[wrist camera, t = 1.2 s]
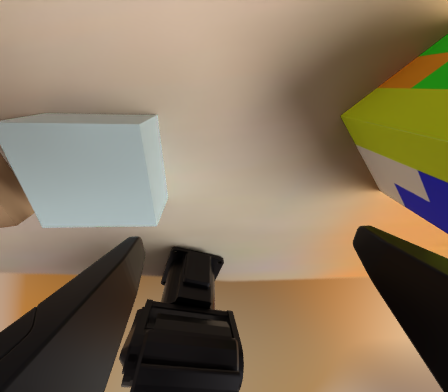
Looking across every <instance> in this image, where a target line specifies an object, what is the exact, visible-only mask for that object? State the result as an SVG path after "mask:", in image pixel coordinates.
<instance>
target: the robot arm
mask: <svg viewBox="0 0 448 392" xmlns="http://www.w3.org/2000/svg"><path fill="white" fill-rule="evenodd" d="M353 246H354V249H355V250H356V252H357V254H358V256H359V258H360V260H361V262H362V264H363V266H364V268H365V270H366V271H367V273H368V275H369V277H370V279H371V280H372V282H373V284H374V285H375V287H376V289H377V290H378V292H379V293H380V295H381V296H382V298H383V299H384V301H385V302H386V304H387V305H388V307H389V308H390V310H391V312H392V313H393V315H394V316H395V317H396V319H397V321H398V322H399V324H400V325H401V327H402V328H403V330H404V331H405V333H406V335H407V336H408V338H409V339H410V341H411V342H412V344H413V345H414V347H415V348H416V350H417V352H418V353H419V355H420V356H421V358H422V359H423V361H424V362H425V364H426V365H427V367H428V368H429V370H430V372H431V373H432V374H433V376H434V377H435V379H436V381H437V382H438V384H439V385H440V387H441V388H442V390H443V391H444V392H448V259H447V258H445V257H443V256H440V255H438V254H436V253H433V252H431V251H429V250H426V249H424V248H422V247H419V246H417V245H415V244H412V243H410V242H407V241H405V240H403V239H400V238H398V237H396V236H393V235H391V234H389V233H386V232H384V231H382V230H379V229H377V228H375V227H372V226H360V227H359V228H358V229H357V232H356V234H355V237H354V240H353ZM175 251H177V252H175ZM144 259H145V250H144V247H143V243H142V239H141V238H140V237H129V238H127V239H126V240H125V241H123V242H122V243H121V244H119V245H118V246H117V247H115V248H114V249H113V250H111V251H110V252H108V253H107V254H106V255H104V256H103V257H102V258H100V259H99V260H98V261H96V262H95V263H94V264H92V265H91V266H90V267H88V268H87V269H86V270H84V271H83V272H82V273H80V274H79V275H77V276H76V277H75V278H74V279H72V280H71V281H69V282H68V283H67V284H65V285H64V286H63V287H61V288H60V289H59V290H57V291H56V292H55V293H53V294H52V295H51V296H49V297H48V298H46V299H45V300H44V301H43V302H41V303H40V304H39V305H38V306H37V307H34V308H33V309H32V310H30V311H29V312H27V313H26V314H25V315H23V316H22V317H21V318H20V319H18V320H17V321H15V322H14V323H12V324H11V325H10V326H8V327H7V328H5V329H4V330H3V331H2V332H0V392H104V391H105V388H106V384H107V382H108V379H109V376H110V372H111V370H112V367H113V364H114V361H115V358H116V355H117V352H118V349H119V346H120V343H121V340H122V337H123V334H124V331H125V328H126V325H127V322H128V319H129V316H130V313H131V310H132V307H133V304H134V301H135V298H136V295H137V291H138V287H139V282H140V278H141V273H142V269H143V264H144ZM223 263H224V260H223V258H222V257H218V256H213V255H209V254H205V253H200V252H196V251H192V250H187V249H183V248H179V247H173V248H172V249H171V252H170V255H169V259H168V262H167V265H166V268H165V271H164V274H163V277H162V281H161V284H162V285H165V288H164V292H163V296H162V300H161V302H156V301H153V300H149V299H147V302H146V304H145V307H142V309H139V310H137V313H136V316H135V319H134V322H133V325H132V328H131V330H130V332H129V335H128V337H127V339H126V341H125V344H124V346H123V348H122V350H121V354H120V357H119V360H120V362H121V364H122V366H123V371H122V374H124V376H123V380H122V384H121V386H122V387H131V390H130V392H239V390H240V387H241V384H242V379H243V367H244V362H243V350H242V345H241V341H240V337H239V334H238V330H237V326H236V322H235V319H234V315H233V312H232V311H221V310H215V289H214V287H215V285H214V281H215V279H216V277H217V275H218V273H219V271H220V269H221V267H222V265H223Z"/></svg>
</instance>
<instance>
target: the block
mask: <svg viewBox="0 0 448 392" xmlns="http://www.w3.org/2000/svg"><path fill="white" fill-rule="evenodd" d="M0 145H1V147H2V149H3V151H4V153H5V155H6V157H7V159H8V161H9V163H10V165H11V167H12V169H13V171H14V173H15V175H16V177H17V179H18V181H19V183H20V185H21V186H22V188H23V190H24V192H25V194H26V196H27V198H28V200H29V202H30V204H31V206H32V208H33V210H34V212H35V214H36V216H37V218H38V220H39V222H40V224H41V226H42V228H58V227H136V226H157V225H158V222H159V220H160V217H161V215H162V212H163V210H164V207H165V205H166V202H167V200H168V193H167V185H166V177H165V169H164V162H163V154H162V146H161V138H160V131H159V123H158V115H142V114H74V113H43V114H37V115H31V116H25V117H19V118H13V119H7V120H1V121H0Z"/></svg>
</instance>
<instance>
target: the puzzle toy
mask: <svg viewBox="0 0 448 392" xmlns="http://www.w3.org/2000/svg"><path fill="white" fill-rule="evenodd" d="M341 118H342V120H343V122H344V124H345V126H346V128H347V129H348V131H349V133H350V135H351V137H352V139H353V141H354V143H355V145H356V146H357V148H358V150H359V152H360V154H361V156H362V158H363V160H364V162H365V163H366V165H367V167H368V169H369V171H370V173H371V175H372V177H373V179H374V180H375V182H376V184H377V186H378V188H379V190H380V191H381V192H383V193H384V194H386V195H387V196H389V197H390V198H392V199H394V200H395V201H397V202H398V203H400V204H402V205H403V206H405V207H406V208H408V209H409V210H411V211H413V212H414V213H416V214H417V215H419V216H421V217H422V218H424V219H425V220H427V221H428V222H430V223H432V224H433V225H435V226H436V227H438V228H440V229H441V230H443V231H444V232H446V233H447V234H448V34H447V35H446V36H444V37H443V38H442V39H440V40H439V41H438V42H437V43H435V44H434V45H433V46H431V47H430V48H429V49H427V50H426V51H425V52H423V53H422V54H421V55H419V56H418V57H417V58H416V59H414V60H413V61H412V62H410V63H409V64H408V65H406V66H405V67H404V68H402V69H401V70H400V71H399V72H397V73H396V74H395V75H393V76H392V77H391V78H389V79H388V80H387V81H385V82H384V83H383V84H382V85H380V86H379V87H378V88H376V89H375V90H374V91H372V92H371V93H370V94H368V95H367V96H366V97H364V98H363V99H362V100H361V101H359V102H358V103H357V104H355V105H354V106H353V107H351V108H350V109H349V110H347V111H346V112H345V113H344V114H342V115H341Z"/></svg>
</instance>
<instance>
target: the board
mask: <svg viewBox="0 0 448 392" xmlns="http://www.w3.org/2000/svg"><path fill="white" fill-rule="evenodd" d="M34 213H35V212H34V210H33V208H32V206H31V204H30V202H29V200H28V198H27V196H26V194H25V192H24V190H23V188H22V186H21V185H20V183H19V181H18V179H17V177H16V176H15V174H14V173H13V171H12V170H11V168H10V167H9V165H8V164H7V162H6V161H5V159H4V158H3V156H2V155H1V153H0V228H2V227H9V226H16V225H18V224H20V223H21V222H23V221H24V220H25V219H27V218H28V217H29V216H31V215H32V214H34Z"/></svg>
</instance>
